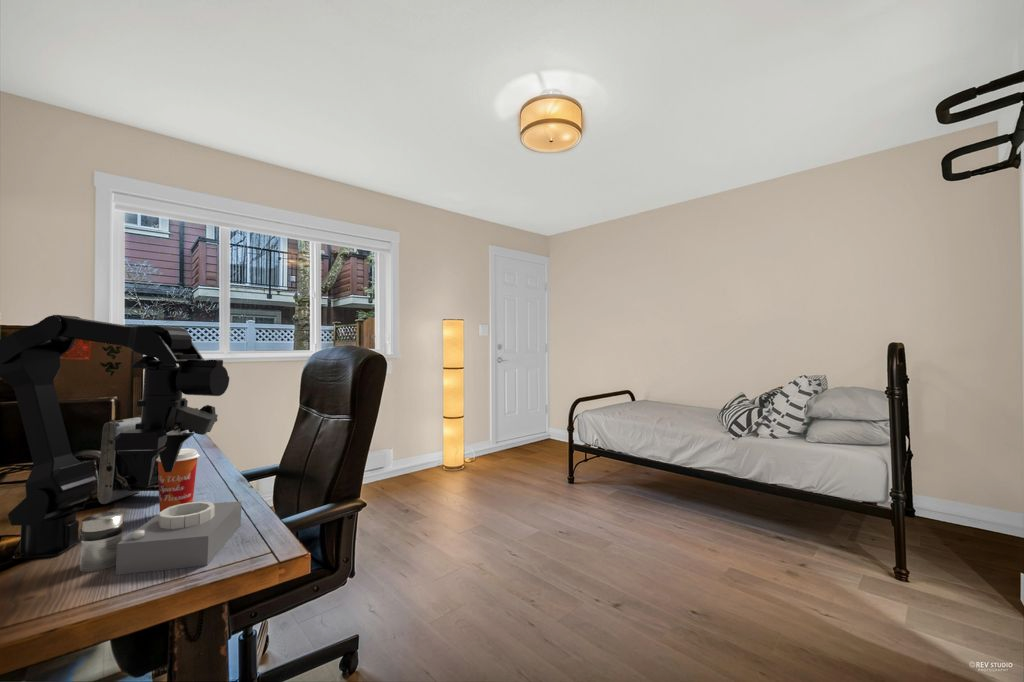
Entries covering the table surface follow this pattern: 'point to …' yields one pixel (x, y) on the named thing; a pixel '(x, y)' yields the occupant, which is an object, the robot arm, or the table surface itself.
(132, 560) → the camera body
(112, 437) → the vintage camera
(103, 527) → the lens
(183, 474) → the paper cup
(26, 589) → the table surface
